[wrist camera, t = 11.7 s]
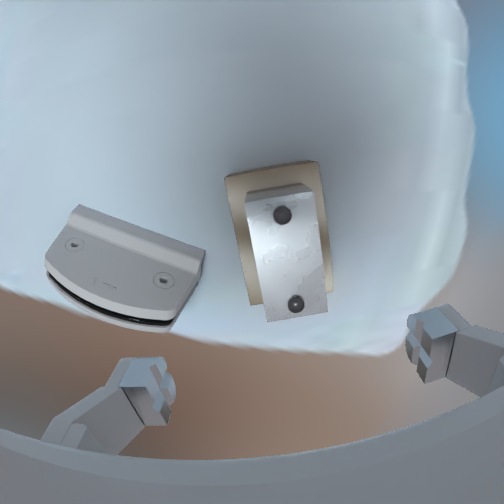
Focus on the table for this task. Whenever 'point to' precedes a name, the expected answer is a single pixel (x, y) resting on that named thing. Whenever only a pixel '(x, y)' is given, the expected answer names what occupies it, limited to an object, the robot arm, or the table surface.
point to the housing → (287, 250)
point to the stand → (269, 178)
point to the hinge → (122, 271)
